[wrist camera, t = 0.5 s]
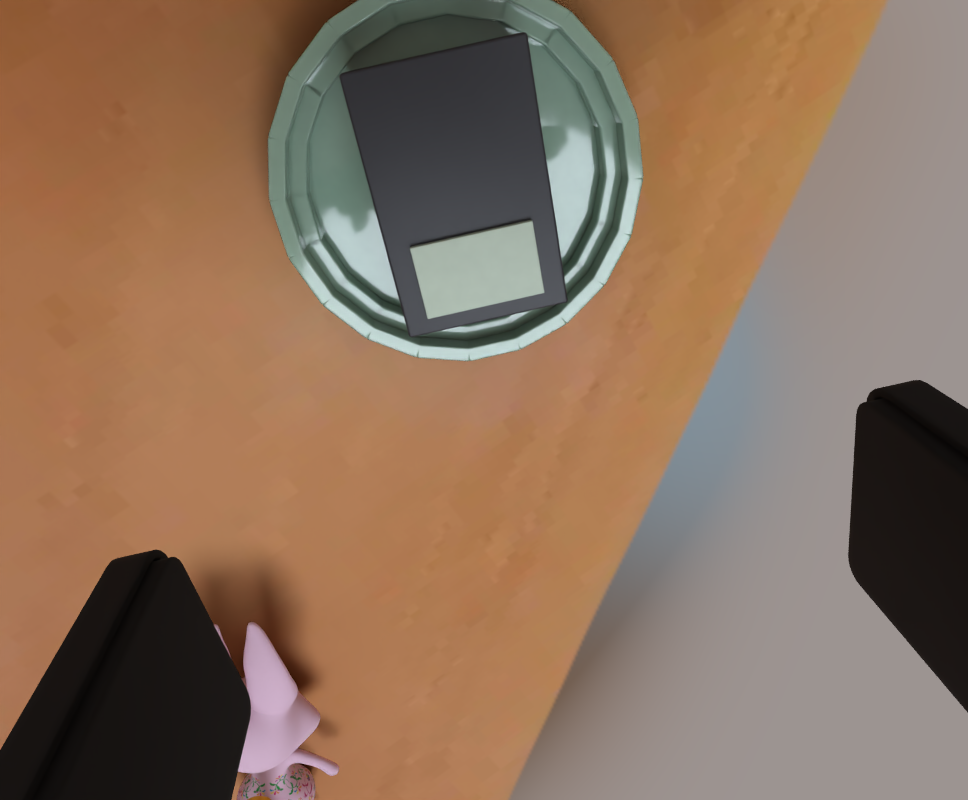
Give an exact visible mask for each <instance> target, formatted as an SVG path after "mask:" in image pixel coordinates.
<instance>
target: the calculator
mask: <svg viewBox="0 0 968 800" xmlns="http://www.w3.org/2000/svg"><path fill="white" fill-rule="evenodd" d="M339 78H340V82H341V86H342V89H343V93H344V97H345V101H346V104H347V108H348V112H349V115H350V119H351V123H352V127H353V130H354V134H355V138H356V141H357V145H358V149H359V153H360V156H361V160H362V164H363V167H364V171H365V175H366V179H367V182H368V186H369V190H370V193H371V197H372V201H373V205H374V208H375V212H376V216H377V219H378V223H379V227H380V231H381V234H382V238H383V242H384V245H385V249H386V253H387V257H388V260H389V264H390V268H391V271H392V275H393V279H394V282H395V286H396V290H397V294H398V297H399V301H400V305H401V308H402V312H403V316H404V320H405V323H406V327H407V331H408V334H409V336H410V337H415V336H420V335H424V334H429V333H433V332H437V331H442V330H446V329H451V328H455V327H460V326H464V325H469V324H473V323H477V322H482V321H486V320H491V319H495V318H500V317H504V316H508V315H513V314H517V313H522V312H526V311H531V310H535V309H540V308H544V307H548V306H553V305H557V304H562V303H566V302H567V300H568V298H567V292H566V285H565V278H564V272H563V265H562V259H561V252H560V246H559V239H558V232H557V226H556V219H555V213H554V206H553V199H552V193H551V186H550V180H549V173H548V167H547V160H546V153H545V147H544V140H543V134H542V127H541V121H540V114H539V107H538V101H537V94H536V88H535V81H534V75H533V68H532V61H531V55H530V48H529V42H528V35H527V33H526V32H521V33H516V34H511V35H506V36H502V37H498V38H493V39H489V40H484V41H480V42H475V43H471V44H467V45H462V46H458V47H453V48H449V49H445V50H440V51H436V52H431V53H427V54H422V55H418V56H414V57H409V58H405V59H400V60H396V61H391V62H387V63H383V64H378V65H374V66H369V67H365V68H361V69H356V70H352V71H348V72H344V73H341V74H340V75H339Z"/></svg>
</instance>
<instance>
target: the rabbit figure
mask: <svg viewBox="0 0 968 800" xmlns="http://www.w3.org/2000/svg"><path fill="white" fill-rule="evenodd" d="M214 626H215V628H216V630H217V632H218V634H219V636H220V638H221V640H222V642H223V644H224V646H225V648H226V649H227V651H228V648H227V646H226V644H225V642H224V640H223V637H222V634H221V632H220V629H219V627H218V625H217V624H214ZM228 653H229V651H228ZM229 655H230V653H229ZM230 657H231V656H230ZM243 666H244V672H245V677H244V678H241V679H242V681H243V682H244V684H245V686H246V688H247V691H248V693H249V697H250V703H251V716H250V722H249V726H248V730H247V735H246V739H245V743H244V747H243V752H242V756H241V760H240V764H239V769H238V772H242V773H249V774H248V775H247V776H246V777H245V779H244V780H243V782H242V784H241V786H240V788H239V791H238V795H237V800H314V798H315V782H314V778H313V776H312V774H311V772H310V771H309V770H308V769H307V768H306V767H304V766H303V765H300V764H298V763H302V764H307V765H310V766H314V767H317V768H319V769H321V770H323V771H324V772H325V773H327V774H328V775H336V774H337V773H338V771H339V766H338V765H337V764H336V763H334V762H332V761H330V760H328V759H325V758H323V757H321V756H318V755H316V754H313V753H311V752H308V751H305V750H302V749H299V748H298V747H299V746H300V745H301V744H302V743H303V742H304V741H305V740H306V739H307V738H308V737H309V736H310V735H311V734H312V733H313V731H314V730H315V729H316V728H317V726H318V724H319V722H320V714H319V712H318V711H317V709H316V708H315V707H314V706H313V705H312V704H311V703H310V702H309V701H307V699H306V698H305V697H304V696H303V695H302V694H301V693H300V692H299V691H298V688H297V685H296V683H295V681H294V680H293V678H292V677H291V676H290V674H289V672H288V670H287V668H286V666H285V665H284V663H283V661H282V660H281V658H280V657H279V655H278V653H277V652H276V650H275V648H274V647H273V645H272V643H271V642H270V640H269V638H268V637H267V635H266V634H265V632H264V631H263V629H262V628H261V627H260V626H259V625H258V624H256V623H254V622H250V623H248V625H247V634H246V642H245V648H244V657H243Z"/></svg>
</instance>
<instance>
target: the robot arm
mask: <svg viewBox="0 0 968 800" xmlns="http://www.w3.org/2000/svg"><path fill="white" fill-rule="evenodd" d="M848 558H849V564H850V568H851V571H852V573H853V575H854V577H855V579H856V581H857V582H858V583H859V585H860V586H861V587H862V588H863V589H864V590H865V592H866V593H867V594H868V595H869V596H870V598H871V599H872V600H873V601H874V602H875V603H876V605H877V606H878V607H879V608H880V609H881V611H882V612H883V613H884V614H885V615H886V616H887V618H888V619H889V620H890V621H891V622H892V624H893V625H894V626H895V627H896V628H897V630H898V631H899V632H900V633H901V634H902V635H903V637H904V638H906V640H907V641H908V642H909V644H910V645H911V646H912V647H913V648H914V650H915V651H916V652H917V653H918V654H919V655H920V657H921V658H922V659H923V660H924V661H925V663H926V664H927V665H928V666H929V667H930V668H931V670H932V671H933V672H934V673H935V674H936V676H938V678H939V679H940V680H941V681H942V683H943V684H944V685H945V686H946V687H947V688H948V690H949V691H950V692H951V693H952V694H953V696H954V697H955V698H956V699H957V700H958V701H959V703H960V704H961V705H962V706H963V707H964V709H965V710H966V711H967V712H968V409H967V408H965V407H964V406H962V405H960V404H959V403H957V402H956V401H954V400H953V399H951V398H949V397H948V396H946V395H945V394H943V393H941V392H940V391H939V390H937V389H935V388H934V387H932V386H931V385H929V384H928V383H926V382H923V381H921V380H915V381H914V380H913V381H909V382H905V383H900V384H896V385H891V386H887V387H882V388H878V389H874V390H873V391H872V392H870V394H869V396H868V398H867V402H864V403H862V404H860V405H859V407H858V409H857V414H856V430H855V447H854V466H853V482H852V500H851V518H850V535H849V552H848ZM250 716H251V703H250V697H249V693H248V691H247V688H246V686H245V684H244V682H243V681H242V679H241V677H240V675H239V673H238V671H237V669H236V667H235V665H234V663H233V661H232V659H231V657H230V655H229V653H228V651H227V649H226V648H225V646H224V644H223V642H222V640H221V638H220V636H219V634H218V632H217V630H216V628H215V626H214V624H213V622H212V620H211V618H210V617H209V615H208V613H207V611H206V609H205V607H204V605H203V603H202V601H201V599H200V597H199V595H198V593H197V591H196V589H195V587H194V585H193V584H192V582H191V580H190V578H189V576H188V574H187V572H186V570H185V568H184V566H183V564H182V563H181V561H180V560H179V559H177V558H176V557H170V558H168V557H167V556H166V554H165V553H163V552H162V551H160V550H152V551H148V552H143V553H139V554H134V555H130V556H125V557H121V558H117V559H114V560H112V561H111V562H110V563H109V565H108V566H107V568H106V569H105V571H104V573H103V574H102V576H101V578H100V580H99V581H98V583H97V585H96V586H95V588H94V590H93V592H92V593H91V595H90V597H89V598H88V600H87V602H86V604H85V605H84V607H83V609H82V610H81V612H80V614H79V616H78V617H77V619H76V621H75V623H74V624H73V626H72V628H71V629H70V631H69V633H68V635H67V636H66V638H65V640H64V641H63V643H62V645H61V647H60V648H59V650H58V652H57V653H56V655H55V657H54V659H53V660H52V662H51V664H50V665H49V667H48V669H47V671H46V672H45V674H44V676H43V677H42V679H41V681H40V683H39V684H38V686H37V688H36V690H35V691H34V693H33V695H32V696H31V698H30V700H29V702H28V703H27V705H26V707H25V708H24V710H23V712H22V714H21V715H20V717H19V719H18V720H17V722H16V724H15V726H14V727H13V729H12V731H11V732H10V734H9V736H8V738H7V739H6V741H5V743H4V745H3V746H2V748H1V750H0V800H231V799H232V794H233V790H234V786H235V781H236V777H237V773H238V769H239V764H240V760H241V756H242V752H243V747H244V743H245V739H246V735H247V730H248V726H249V722H250Z"/></svg>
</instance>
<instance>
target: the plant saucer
mask: <svg viewBox="0 0 968 800" xmlns="http://www.w3.org/2000/svg"><path fill="white" fill-rule="evenodd" d="M521 32H526V33H527V35H528V42H529V48H530V55H531V61H532V68H533V75H534V81H535V88H536V94H537V101H538V107H539V114H540V121H541V127H542V134H543V140H544V147H545V153H546V160H547V167H548V173H549V180H550V186H551V193H552V199H553V206H554V213H555V219H556V226H557V232H558V239H559V246H560V252H561V259H562V265H563V272H564V278H565V285H566V292H567V298H568V300H567V302H566V303H562V304H557V305H553V306H548V307H544V308H540V309H535V310H531V311H526V312H522V313H517V314H513V315H508V316H504V317H500V318H495V319H491V320H486V321H482V322H477V323H473V324H469V325H464V326H460V327H455V328H451V329H446V330H442V331H437V332H433V333H429V334H424V335H420V336H415V337H410V336H409V334H408V331H407V327H406V323H405V320H404V316H403V312H402V308H401V305H400V301H399V297H398V294H397V290H396V286H395V282H394V279H393V275H392V271H391V268H390V264H389V260H388V257H387V253H386V249H385V245H384V242H383V238H382V234H381V231H380V227H379V223H378V219H377V216H376V212H375V208H374V205H373V201H372V197H371V193H370V190H369V186H368V182H367V179H366V175H365V171H364V167H363V164H362V160H361V156H360V153H359V149H358V145H357V141H356V138H355V134H354V130H353V127H352V123H351V119H350V115H349V112H348V108H347V104H346V101H345V97H344V93H343V89H342V86H341V82H340V78H339V75H340V74H341V73H344V72H348V71H352V70H356V69H361V68H365V67H369V66H374V65H378V64H383V63H387V62H391V61H396V60H400V59H405V58H409V57H414V56H418V55H422V54H427V53H431V52H436V51H440V50H445V49H449V48H453V47H458V46H462V45H467V44H471V43H475V42H480V41H484V40H489V39H493V38H498V37H502V36H506V35H511V34H516V33H521ZM268 136H269V138H268V182H269V200H270V205H271V208H272V211H273V214H274V217H275V220H276V223H277V226H278V229H279V232H280V235H281V238H282V241H283V244H284V247H285V250H286V253H287V256H288V257H289V260H290V261H291V262H292V264H293V265H294V267H295V268H296V269H297V271H298V272H299V274H300V275H301V276H302V278H303V279H304V280H305V282H306V283H307V285H308V286H309V287H310V289H311V290H312V292H313V293H314V294H315V296H316V297H317V299H318V300H319V301H320V303H321V304H323V306H324V307H325V308H327V309H328V310H329V311H331V312H332V313H333V314H335V315H336V316H337V317H338V318H340V319H341V320H342V321H344V322H345V323H346V324H348V325H349V326H350V327H352V328H353V329H354V330H355V331H357V332H358V333H359V334H361V335H362V336H363V337H365V338H367V339H368V340H371V341H374V342H376V343H379V344H382V345H384V346H387V347H390V348H392V349H395V350H398V351H400V352H403V353H405V354H408V355H411V356H413V357H418V358H428V359H443V360H458V361H473V360H477V359H482V358H486V357H491V356H495V355H499V354H504V353H508V352H513V351H517V350H520V349H523V348H524V347H526V346H528V345H530V344H532V343H533V342H535V341H537V340H539V339H541V338H542V337H544V336H546V335H548V334H550V333H551V332H553V331H555V330H557V329H559V328H560V327H562V326H564V325H565V324H566V323H568V322H569V321H570V320H571V319H572V318H573V317H574V316H575V315H576V314H577V313H578V312H579V311H580V310H581V309H582V308H583V307H584V306H585V305H586V304H587V303H588V302H589V301H590V300H591V299H592V298H593V297H594V296H595V295H596V294H597V293H598V292H599V291H600V290H601V289H602V287H603V286H604V285H605V284H606V282H607V280H608V279H609V277H610V275H611V273H612V271H613V269H614V267H615V266H616V264H617V262H618V260H619V258H620V256H621V254H622V252H623V251H624V249H625V247H626V245H627V243H628V241H629V239H630V237H631V234H632V231H633V226H634V221H635V216H636V211H637V206H638V201H639V197H640V192H641V187H642V182H643V167H642V156H641V146H640V135H639V124H638V118H637V114H636V112H635V109H634V107H633V104H632V102H631V100H630V97H629V95H628V93H627V90H626V88H625V85H624V83H623V81H622V78H621V76H620V74H619V71H618V69H617V66H616V64H615V62H614V60H612V57H611V56H610V55H609V53H608V52H607V51H606V50H605V49H604V48H603V47H602V45H601V44H600V43H599V42H598V41H597V40H596V39H595V38H594V36H593V35H592V34H591V33H590V32H589V31H588V30H587V28H586V27H585V26H584V25H583V24H582V23H581V22H580V21H579V19H578V18H577V17H576V16H575V15H574V14H573V13H572V12H571V11H569V9H567V8H565V7H563V6H562V5H560V4H558V3H556V2H554V1H553V0H357V1H356V2H354V3H353V4H351V5H350V6H348V7H347V8H345V9H344V10H342V11H341V12H339V13H338V14H336V15H335V16H333V17H332V18H330V19H329V20H328V21H327V22H326V23H325V24H324V25H323V26H322V28H321V29H320V30H319V32H318V33H317V34H316V36H315V37H314V38H313V40H312V41H311V43H310V44H309V45H308V47H307V48H306V49H305V51H304V52H303V53H302V55H301V56H300V58H299V59H298V60H297V62H296V63H295V64H294V66H293V67H292V68H291V70H290V71H289V73H288V75H287V77H286V79H285V83H284V86H283V89H282V92H281V96H280V99H279V102H278V105H277V109H276V112H275V115H274V118H273V121H272V125H271V128H270V131H269V134H268Z"/></svg>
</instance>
